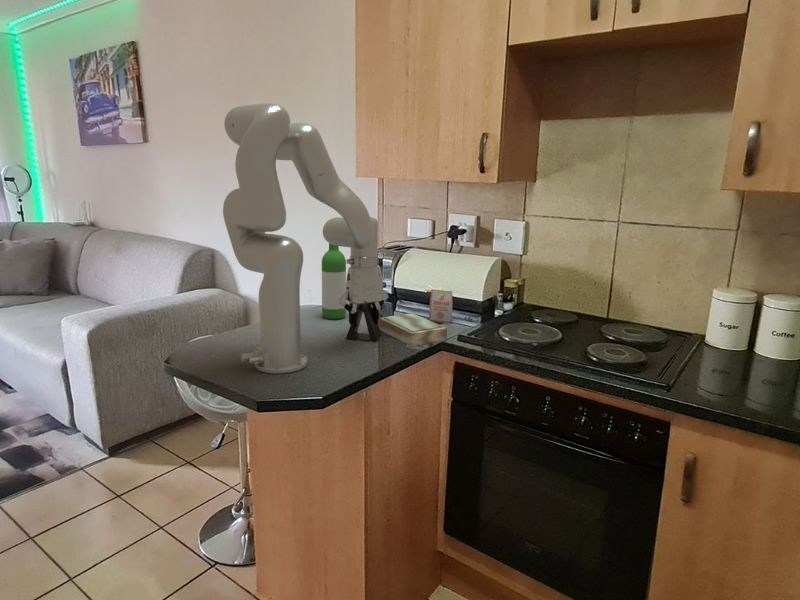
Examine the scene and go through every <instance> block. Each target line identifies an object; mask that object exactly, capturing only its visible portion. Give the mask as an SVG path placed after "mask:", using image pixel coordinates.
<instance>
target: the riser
mask: <svg viewBox="0 0 800 600" xmlns="http://www.w3.org/2000/svg"><path fill="white" fill-rule="evenodd" d="M378 327H379V330H380V332H383V333H385V334H387V335H388V336H390V337H393V338H394V339H397V340H398V341H401V342H403V343H404V344H406V345H408V346H410V347H415V346H420V345H427V344H432V343H438V342H442V341H447V340H448V339H447V337H448V327H445V326H443V325H441V324H438V323H436V322H435V321H429V319H427V318H424V317H422V316H419V315H417V314H415V313H412V312H411V313H405V314H397V315H391V316H390V315H389V316H383V317H379V319H378Z"/></svg>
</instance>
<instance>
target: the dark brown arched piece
mask: <svg viewBox="0 0 800 600" xmlns="http://www.w3.org/2000/svg"><path fill="white" fill-rule="evenodd" d="M365 303H366V304H358V305H357V308H356V311H355V313H356V314H357V326H356V327H353V324H351V325H350V326H349V328H348V330H347V334H346V336H345V340H347V341H357V340H360V342H361V341H362V342H370V341H372V343H376V342H377V341H379V339H380V337H381V336H382V333H381V332H382V331H381V330H379V323H378V324H375V320H374V316H373V311H372V304H371V303H367V302H366V301H365ZM363 315H364V319H365V323H366V328H367V331H368V332H367V333H366V332H363V333H362V332H358V331H359V327H360V324H361V320H362V317H363Z"/></svg>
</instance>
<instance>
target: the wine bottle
mask: <svg viewBox="0 0 800 600" xmlns="http://www.w3.org/2000/svg"><path fill="white" fill-rule="evenodd" d="M339 247H340V246H336V245H332V244H330V243H328V250H327V251H326V252H325V253H324V254H323V256H322V259H321V314H322V317H323V318H324V319H326V320H327V319H328V320H340V319H344V318H345V317H346V316H347V310H346V309H345V308H344V307H343V306H342V305H341V304H340V303H339V302H338V300H339V299H340V298H341V296H342V295H343V294H344V293H345V292H346V279H347V262H346V260H347V259H346V256H345V255H344V253H343V252H342V251H340V250H339V249H340V248H339Z"/></svg>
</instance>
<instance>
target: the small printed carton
mask: <svg viewBox="0 0 800 600" xmlns="http://www.w3.org/2000/svg"><path fill="white" fill-rule="evenodd" d="M453 300H454V299H453V290H444V289H443V290H441V289H430V299H429V311H428V313H429V317H428V320H429V321H432V322H438V323H439V322H440V323H449V324H451V321H452V320H453V305H454V303H453Z"/></svg>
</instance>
